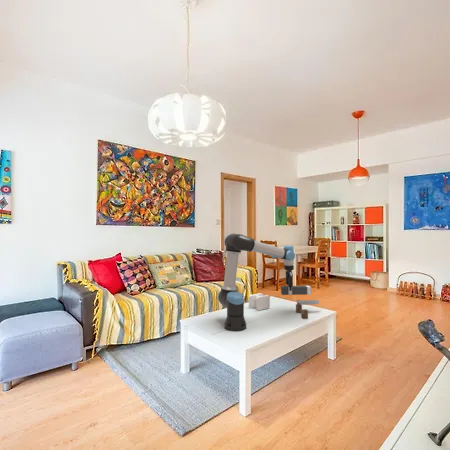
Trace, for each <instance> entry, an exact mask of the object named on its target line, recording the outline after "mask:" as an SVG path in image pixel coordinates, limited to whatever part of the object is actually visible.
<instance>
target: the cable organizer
mask: <svg viewBox="0 0 450 450" xmlns="http://www.w3.org/2000/svg"><path fill="white" fill-rule="evenodd" d="M270 306H271V296H270V295H268V294H265V295H264V294H263V293H262V292H259V293H254V294H250V295H249V296H248V308H250V309H255V310H257V311H264V310H268V309H270Z"/></svg>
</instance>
